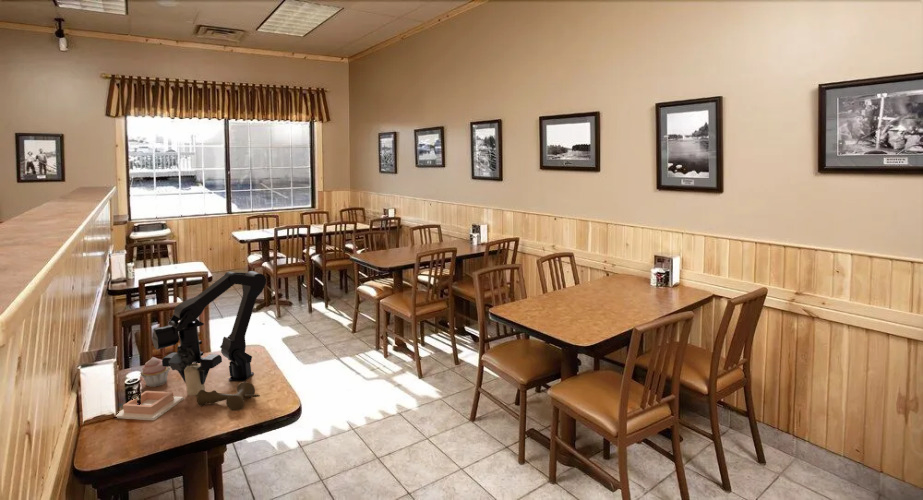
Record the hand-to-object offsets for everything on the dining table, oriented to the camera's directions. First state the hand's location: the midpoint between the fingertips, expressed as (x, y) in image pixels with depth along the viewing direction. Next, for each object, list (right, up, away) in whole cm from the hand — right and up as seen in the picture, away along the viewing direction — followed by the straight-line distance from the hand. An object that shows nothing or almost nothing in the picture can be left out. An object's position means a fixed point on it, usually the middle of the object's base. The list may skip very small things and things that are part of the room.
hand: (195, 383), depth 181 cm
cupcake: (-18, -2, +8) cm, 20 cm away
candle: (0, -3, +1) cm, 3 cm away
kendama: (+16, -5, -8) cm, 18 cm away
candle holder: (-10, -5, -10) cm, 15 cm away
